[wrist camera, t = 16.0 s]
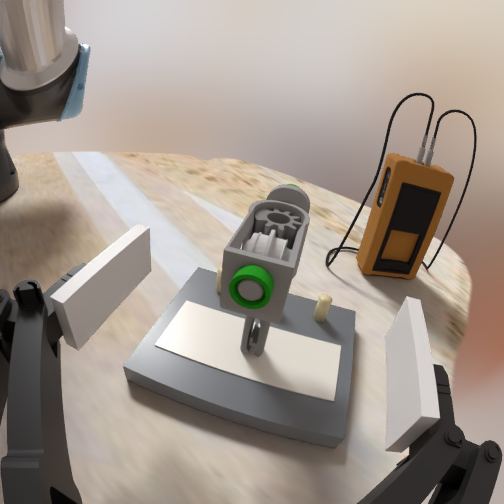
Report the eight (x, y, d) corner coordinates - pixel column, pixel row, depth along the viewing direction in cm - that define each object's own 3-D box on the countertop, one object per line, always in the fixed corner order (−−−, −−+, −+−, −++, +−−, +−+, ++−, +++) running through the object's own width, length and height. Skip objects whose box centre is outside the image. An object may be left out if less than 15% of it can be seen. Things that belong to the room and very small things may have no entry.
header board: (126, 379, 19) (117, 345, 17) (197, 280, 29) (199, 247, 27) (335, 448, 16) (357, 423, 14) (349, 323, 26) (363, 292, 24)
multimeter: (408, 241, 42) (449, 108, 31) (437, 283, 34) (496, 125, 23) (313, 227, 41) (346, 74, 30) (327, 272, 33) (377, 76, 22)
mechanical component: (286, 307, 25) (317, 186, 19) (254, 418, 16) (295, 280, 11) (250, 297, 25) (271, 175, 20) (204, 403, 17) (212, 259, 11)
